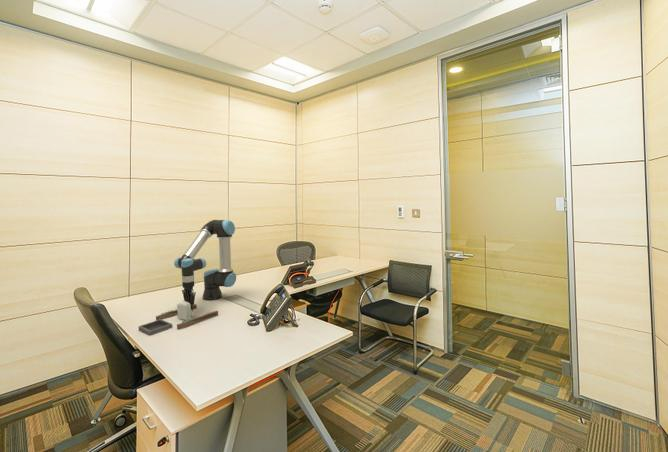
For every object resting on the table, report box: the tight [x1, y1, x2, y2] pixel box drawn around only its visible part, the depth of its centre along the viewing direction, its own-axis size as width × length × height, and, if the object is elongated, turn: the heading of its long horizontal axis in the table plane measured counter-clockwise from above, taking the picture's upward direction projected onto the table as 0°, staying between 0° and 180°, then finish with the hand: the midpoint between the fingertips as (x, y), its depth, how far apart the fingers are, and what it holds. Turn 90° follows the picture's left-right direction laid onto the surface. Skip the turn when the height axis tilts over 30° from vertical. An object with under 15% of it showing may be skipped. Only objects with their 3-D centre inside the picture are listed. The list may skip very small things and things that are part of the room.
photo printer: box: [176, 300, 192, 321], centre depth 222 cm, size 10×4×12 cm, turn 64°
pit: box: [137, 319, 173, 336], centre depth 206 cm, size 14×14×2 cm
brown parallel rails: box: [155, 303, 219, 330], centre depth 224 cm, size 28×30×4 cm
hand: (189, 314), depth 225 cm, fingers closed
